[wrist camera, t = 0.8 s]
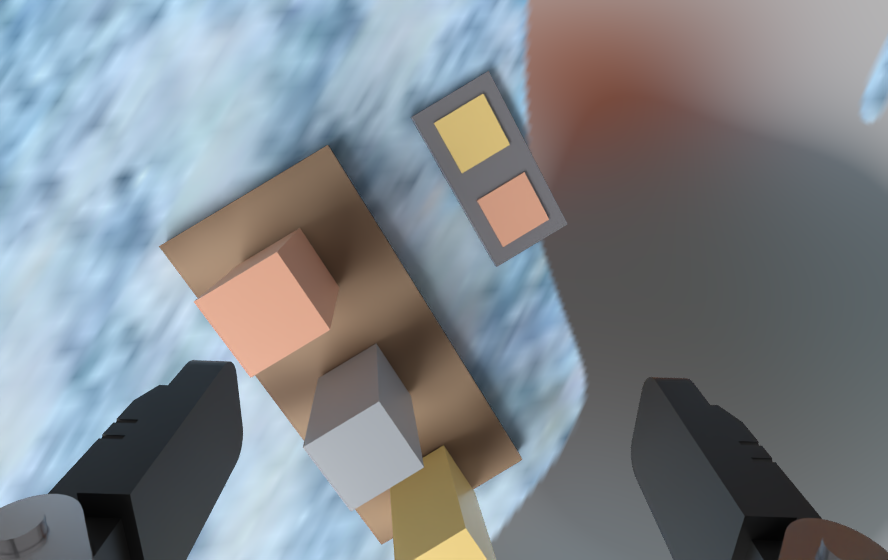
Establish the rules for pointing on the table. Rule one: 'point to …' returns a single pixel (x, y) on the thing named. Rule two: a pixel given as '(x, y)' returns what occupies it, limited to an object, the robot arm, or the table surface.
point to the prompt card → (490, 168)
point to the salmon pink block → (272, 303)
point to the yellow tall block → (438, 514)
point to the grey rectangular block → (363, 428)
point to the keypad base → (351, 315)
